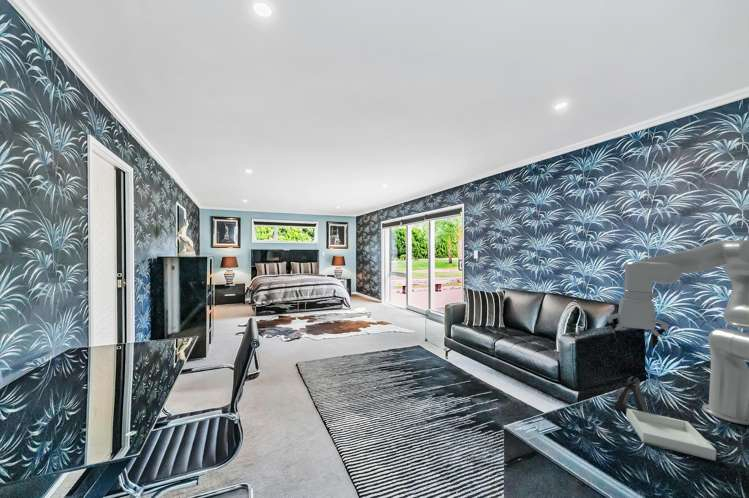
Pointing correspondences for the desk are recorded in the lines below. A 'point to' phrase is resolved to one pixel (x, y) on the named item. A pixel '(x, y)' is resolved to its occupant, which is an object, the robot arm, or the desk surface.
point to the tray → (670, 434)
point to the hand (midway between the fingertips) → (635, 343)
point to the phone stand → (637, 395)
